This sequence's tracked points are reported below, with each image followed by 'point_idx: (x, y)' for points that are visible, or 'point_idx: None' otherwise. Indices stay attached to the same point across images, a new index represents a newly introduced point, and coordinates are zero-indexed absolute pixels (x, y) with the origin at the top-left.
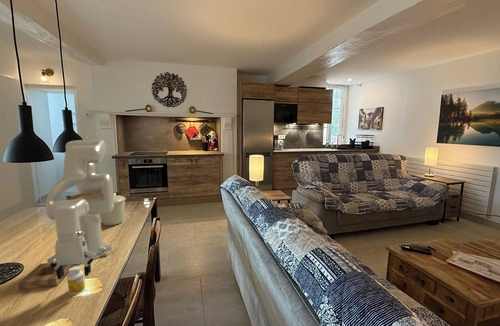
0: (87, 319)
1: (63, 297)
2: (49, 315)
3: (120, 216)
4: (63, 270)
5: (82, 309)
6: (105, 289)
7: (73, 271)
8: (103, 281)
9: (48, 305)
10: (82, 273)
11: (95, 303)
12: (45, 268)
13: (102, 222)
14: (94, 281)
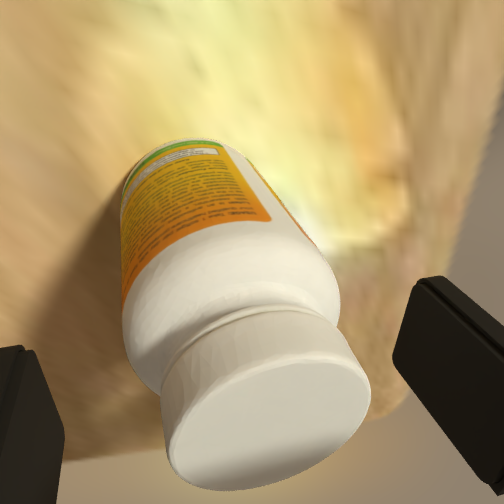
0: (366, 414)
1: (117, 288)
2: (150, 422)
3: None
4: (8, 438)
5: None
6: (430, 213)
7: (293, 472)
8: (408, 82)
9: (56, 365)
10: (338, 304)
11: (383, 335)
12: None
13: None
14: (315, 59)
